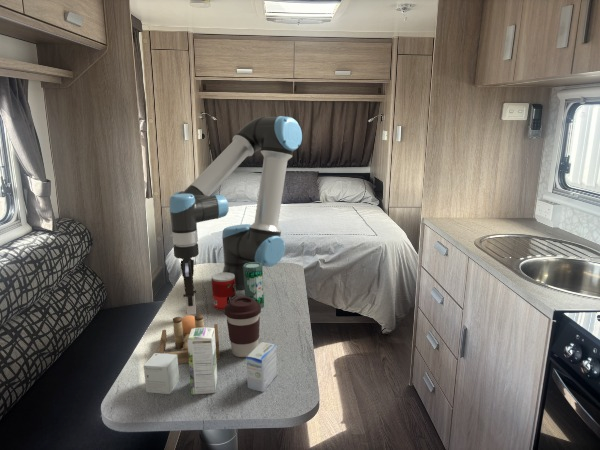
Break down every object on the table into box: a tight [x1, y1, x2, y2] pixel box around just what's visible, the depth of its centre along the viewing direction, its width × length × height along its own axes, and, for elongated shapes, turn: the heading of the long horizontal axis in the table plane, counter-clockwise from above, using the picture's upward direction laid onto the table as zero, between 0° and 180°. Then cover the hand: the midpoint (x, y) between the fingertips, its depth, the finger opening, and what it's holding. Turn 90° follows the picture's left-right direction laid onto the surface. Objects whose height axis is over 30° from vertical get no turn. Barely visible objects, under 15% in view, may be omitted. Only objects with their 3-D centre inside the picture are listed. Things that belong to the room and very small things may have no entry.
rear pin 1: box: [172, 316, 184, 350], centre depth 128 cm, size 2×2×9 cm
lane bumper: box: [157, 323, 221, 365], centre depth 128 cm, size 16×15×3 cm
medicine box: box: [245, 341, 278, 393], centre depth 110 cm, size 8×4×9 cm, turn 157°
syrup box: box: [188, 327, 218, 396], centre depth 108 cm, size 6×6×14 cm
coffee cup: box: [223, 296, 262, 358], centre depth 124 cm, size 10×10×15 cm
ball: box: [181, 315, 195, 336], centre depth 135 cm, size 6×6×6 cm
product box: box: [143, 352, 180, 395], centre depth 109 cm, size 6×6×7 cm
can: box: [243, 262, 265, 309], centre depth 154 cm, size 6×6×15 cm
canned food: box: [211, 271, 237, 311], centre depth 155 cm, size 8×8×11 cm
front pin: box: [181, 334, 190, 351], centre depth 127 cm, size 2×2×9 cm
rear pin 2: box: [194, 313, 205, 328], centre depth 129 cm, size 2×2×9 cm
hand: (191, 313), depth 146 cm, fingers closed
